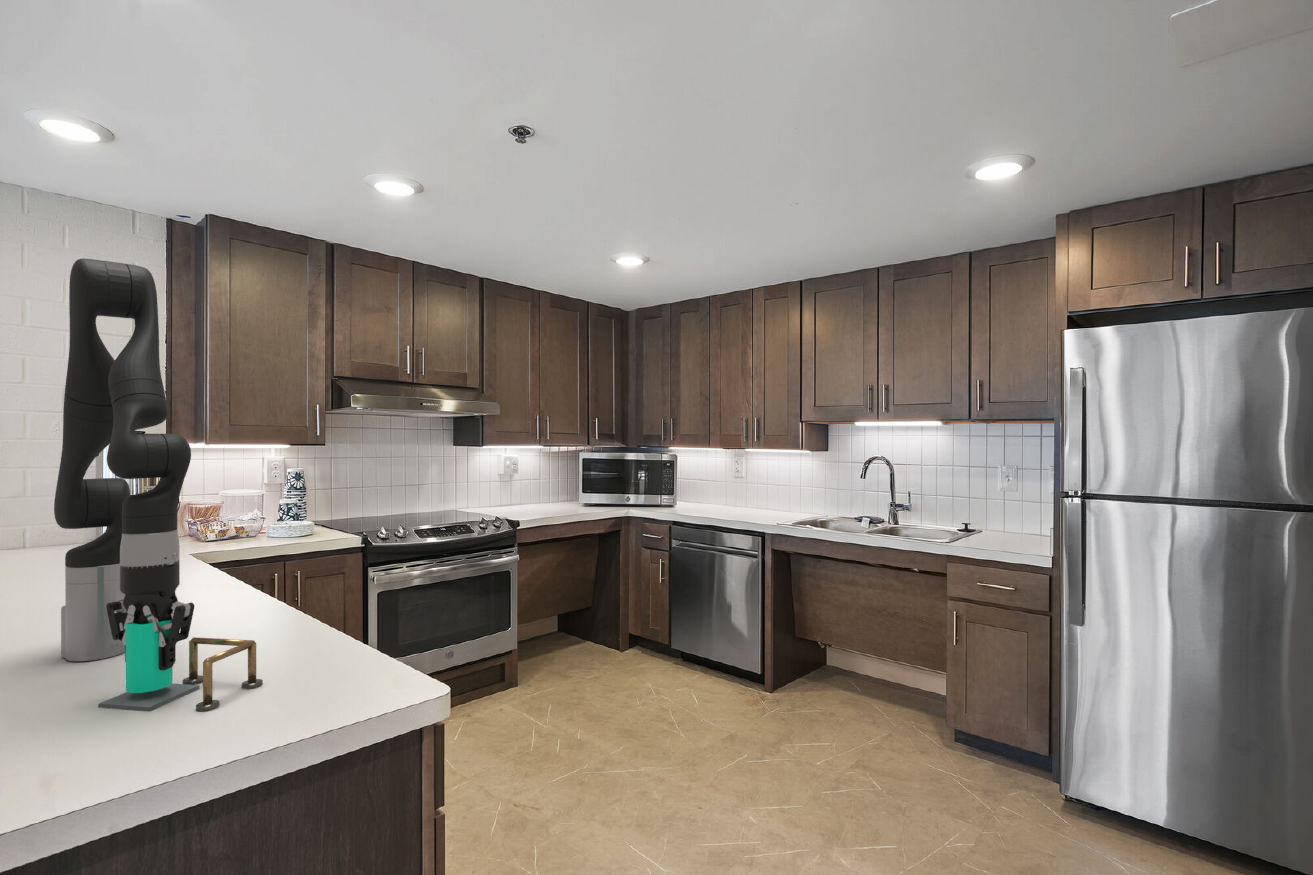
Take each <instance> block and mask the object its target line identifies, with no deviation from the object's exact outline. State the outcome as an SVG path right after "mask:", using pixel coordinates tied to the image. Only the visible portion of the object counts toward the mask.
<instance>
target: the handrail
mask: <svg viewBox="0 0 1313 875" xmlns="http://www.w3.org/2000/svg"><path fill="white" fill-rule="evenodd" d="M198 645H211V646H212V645H215V646H232V648H229V649H227V650H225V651H222V652H218V653H216V654H214V655H212V656H210V657H207V658H205V659H204V660H203V662H202V675H201V674H200V675H199V674H198V673H199V665H198V662H199V660H198V659H199V657H198V656H199V654H198V652H199V649H198V647H199V646H198ZM246 650H247V680H245V681H243V682H241V684H240V685H241V689H242V690H251V689H252V690H253V689H257V688H259V687H262V686H263V684H264V683H263V681H264V680H263V679H261V678H257V641H255V640H252V639H237V638H236V639H232V638H215V637H214V638H213V637H192V638H191V639H190V640H188V676H187V677H185V678H183V679H182V681H181V682H182V683H181V684H188V685H200V684H202V701H200V702H198V703H196V705H195V711H196V712H199V713H200V712H209V711H213V710H216V709H218V708H219V707H220V704H221V703H220V701H221V700H219V699H213V690H214V689H213V663H217V662H218V661H221V660H223V659H225V658H228V657H231V656H234V655H235V654H238V653H240V652H243V651H246Z"/></svg>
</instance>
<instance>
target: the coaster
mask: <svg viewBox="0 0 1313 875" xmlns="http://www.w3.org/2000/svg"><path fill="white" fill-rule="evenodd" d="M200 688H201V687H200V684H195V685H188V684H182V683H172V684H171V685H169V686H167V687H165V688H162V689H159V690H155V691H150V692H144V693H129V692H126V691H125V692H124V693H121V694H119V695H116V696H113V697H112V698H109V699H107V700H104V701H102V702H99V703H98V705H97V706H98V708H102V709H114V710H115V709H117V710H131V711H142V712H143V711H144V712H151V711H153V710H155V709H158V708H161V707H162V706H164V705H166V704H167V705H168V704H169V703H171V702H173V701H176V700H178V699H180V698H182V697H185V696H187V695H190V694H192V693H194V692H196V691H198V690H200Z"/></svg>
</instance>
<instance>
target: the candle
mask: <svg viewBox="0 0 1313 875" xmlns="http://www.w3.org/2000/svg"><path fill="white" fill-rule="evenodd" d="M170 623H171V620H169V621H160V622H159V624H160V625H161V626H163V625H167V624H170ZM165 635H166V637H169V629H166V630H165ZM159 647H160V646H159V644H158V634H157V633H155V632H154V623H148V624H136V623H132V624H129V623H126V662H125V693H126V692H129V693H144V692H150V691H155V690H159V689H162V688H165V687H167V686H169V685H171V684H173V679H174V678H173V667H174V666H173V667H171V668H169V669H166V670H159Z"/></svg>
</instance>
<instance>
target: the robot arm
mask: <svg viewBox="0 0 1313 875" xmlns="http://www.w3.org/2000/svg"><path fill="white" fill-rule="evenodd" d="M68 286H69V287H68V288H69V292H68V295H69V296H68V298H69V299H68V300H69V302H68V303H69V307H68V308H69V309H68V310H69V348H68V360H67V367H66V368H67V369H66V378H65V387H64V394H63V395H64V397H63V410H62V411H63V412H62V413H63V416H62V419H63V420H62V421H63V422H62V443H61V444H62V445H61V446H62V447H61V449H62V450H61V455H60V464H59V468H58V475H57V481H56V482H57V483H56V487H55V494H54V495H55V496H54V505H53V506H54V507H53V511H54V512H53V514H54V519H55V522H56V524H57V525H58V526H59V527H60V528H62V529H65V530H79V529H93V528H105V527H106V529H105V531H104V532H103V533H102V534H101V535H99V536H98V537H96V538H95V539H93V540H91V541H89V542H87V543H84V544H81V545H77V546H76V547H73V548H71V549H69V550H67V552H66V553H65V556H64V560H65V562H64V566H65V567H64V568H65V569H64V571H65V572H64V573H65V575H64V576H65V578H64V579H65V585H64V586H65V589H64V590H65V603H64V605H62V606H61V608H60V658H61V659H62V658H64V659H65V660H66V661H67V662H89V661H96V660H97V661H98V660H102V659H107V658H111V657H115V656H118V655H121V654H123V653H124V656H125V657H124V661H125V663H126V623H129V624H132V623H136V624H148V623H154V632H155V633H157V634H158V644H159V646H160V647H159V670H166V669H169V668H171V667H174V665H175V663H176V651H177V650H176V644H177V643H178V642H181V641H185V640H187V639H188V638H189V635H190V630H191V625H192V622H193V621H192V620H193V616H194V610H195V604H194V603H193V602H187V603H184V602H180V601H179V600H178V597H177V594H176V590H177V589H178V587H179V585H180V575H181V573H180V570H181V569H180V566H181V565H180V548H181V547H180V546H181V545H180V539H179V538H180V537H179V533H178V532H179V531H178V509H179V508H178V506H179V500H180V495H181V491H182V488H183V484H184V482H185V477H186V475H187V472H188V469H189V467H190V464H191V460H192V448H191V446H190V444H189V442H188V441H187V439H186V438H185V437H183V436H182V435H180V434H177V433H137V432H136V431H137V430H142V429H147V428H151V427H156V426H159V425H161V424H163V423H164V422H165V421H166V420H167V419H168V417H169V416H168V415H169V408H168V407H169V406H168V402H167V397H166V393H165V388H164V384H163V379H162V371H161V365H160V364H161V363H160V362H161V361H160V330H159V328H160V326H159V310H158V309H159V308H158V307H159V306H158V294H157V286H156V282H155V279H154V276H153V274H152V272H151V271H150V270H149V269H148V268H146V267H145V266H141V265H136V264H130V263H124V262H116V261H110V260H109V261H108V260H101V259H95V258H94V259H93V258H84V257H83V258H79V259H76V260H75V261H74V263H73V265H72V267H71V270H70V275H69V284H68ZM98 317H110V318H111V317H112V318H123V319H132V320H134V328H133V329H134V330H133V333H132V336H131V337H130V339H129V340H128V342H127V343H126V344H125V346H124V347H123V349H122V350H121V351H120V353H119V354H118V355H117V357H116V358H115V359H114V356H112V354H111V353H110V351H109V350H108V349H107V347H106V345H105V344H104V342H103V341H102V338H101V337H100V334H99V332H98V328H97V318H98ZM107 447H108V449H107V453H106V463H107V467H108V469H109V471H111V473H112V474H113V475H114V476H116V477H107V478H105V477H104V478H102V477H101V478H99V477H98V478H84V477H85V475H86V473H87V471H88V469H89V467H90V466H91V464H92V463H93V461H94V460H95V459H96V458H97V457H98V455H99V454H101V452H103V450H105V449H106V448H107ZM158 478H159V480H158V482H157V484H156V485H155V486H154V487H153V488H152V489H150V490H148V491H144V492H140V493H135V494H131V488H130V485H129V483H128V481H126V480H134V479H135V480H137V479H140V480H141V479H158ZM169 620H171V623H170V624H167V625H163V626H161V625H160V624H159V622H160V621H169ZM166 629H169V637H166V635H165V630H166Z"/></svg>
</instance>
